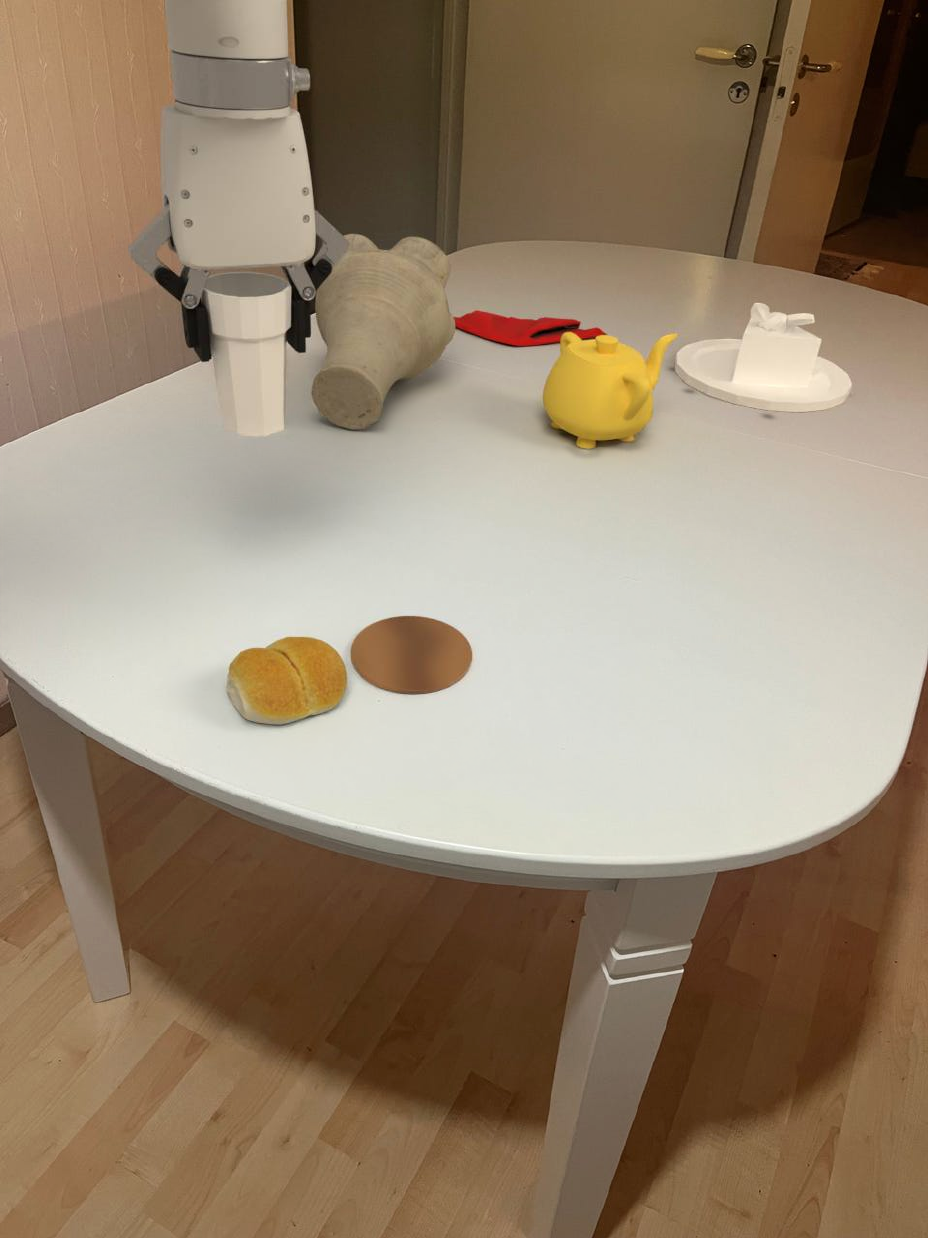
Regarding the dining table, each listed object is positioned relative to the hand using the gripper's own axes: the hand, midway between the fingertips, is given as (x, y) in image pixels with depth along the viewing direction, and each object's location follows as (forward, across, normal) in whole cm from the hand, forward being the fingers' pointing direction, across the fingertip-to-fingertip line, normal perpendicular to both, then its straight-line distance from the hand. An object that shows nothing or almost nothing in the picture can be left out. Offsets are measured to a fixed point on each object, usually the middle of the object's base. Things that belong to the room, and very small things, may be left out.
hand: (249, 349), depth 71 cm
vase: (+21, -23, -36) cm, 48 cm away
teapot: (+21, -49, -19) cm, 56 cm away
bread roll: (+22, +3, +16) cm, 27 cm away
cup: (+6, 0, 0) cm, 6 cm away
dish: (+21, -81, -27) cm, 88 cm away
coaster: (+21, -8, +15) cm, 27 cm away
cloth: (+21, -55, -54) cm, 80 cm away
